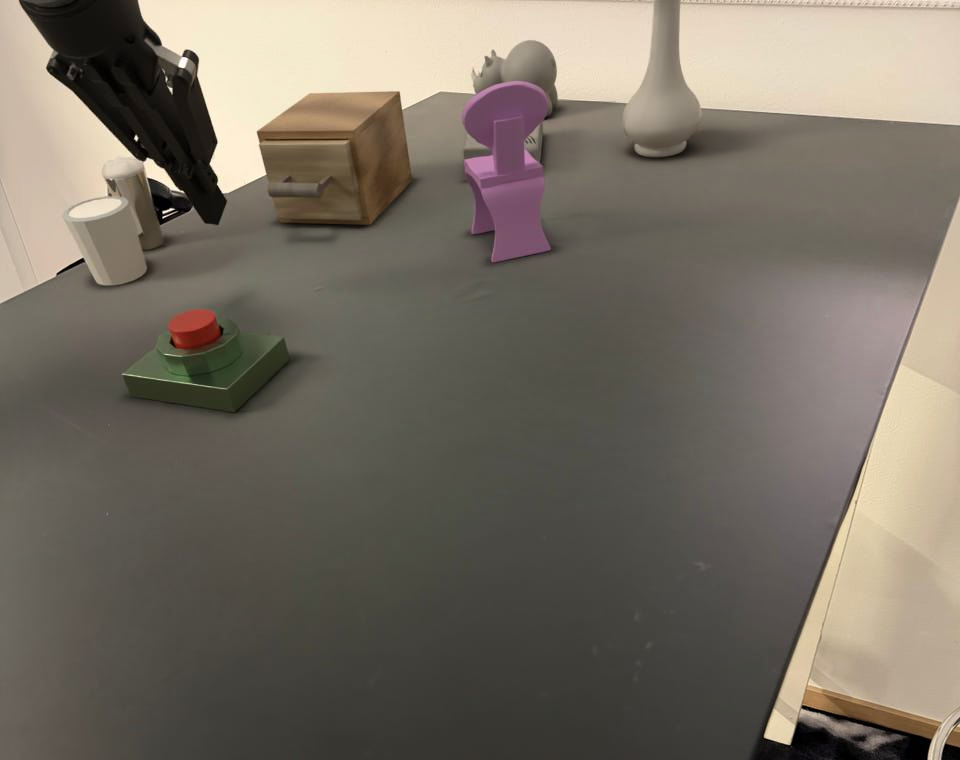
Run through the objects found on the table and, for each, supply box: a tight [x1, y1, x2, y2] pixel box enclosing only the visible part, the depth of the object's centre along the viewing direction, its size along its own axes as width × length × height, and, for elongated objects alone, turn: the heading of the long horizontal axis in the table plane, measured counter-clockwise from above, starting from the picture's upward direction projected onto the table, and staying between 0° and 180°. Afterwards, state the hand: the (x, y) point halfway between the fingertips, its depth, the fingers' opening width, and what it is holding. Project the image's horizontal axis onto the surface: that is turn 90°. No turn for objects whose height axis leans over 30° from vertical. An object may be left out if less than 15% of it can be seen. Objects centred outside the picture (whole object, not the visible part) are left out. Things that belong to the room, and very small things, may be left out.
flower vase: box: [621, 0, 703, 158], centre depth 97 cm, size 13×18×25 cm
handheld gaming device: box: [462, 120, 544, 164], centre depth 108 cm, size 9×15×4 cm, turn 175°
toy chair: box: [461, 81, 552, 263], centre depth 86 cm, size 8×9×15 cm
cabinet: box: [256, 90, 413, 226], centre depth 101 cm, size 14×12×10 cm
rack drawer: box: [258, 139, 364, 220], centre depth 98 cm, size 17×10×8 cm, turn 162°
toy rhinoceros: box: [470, 39, 559, 118], centre depth 118 cm, size 7×12×8 cm, turn 72°
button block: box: [121, 316, 291, 413], centre depth 75 cm, size 11×9×4 cm
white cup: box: [61, 195, 148, 286], centre depth 93 cm, size 7×7×7 cm
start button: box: [167, 308, 221, 349], centre depth 74 cm, size 4×4×2 cm
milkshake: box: [101, 156, 165, 251], centre depth 97 cm, size 4×5×10 cm
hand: (215, 212), depth 83 cm, fingers closed
